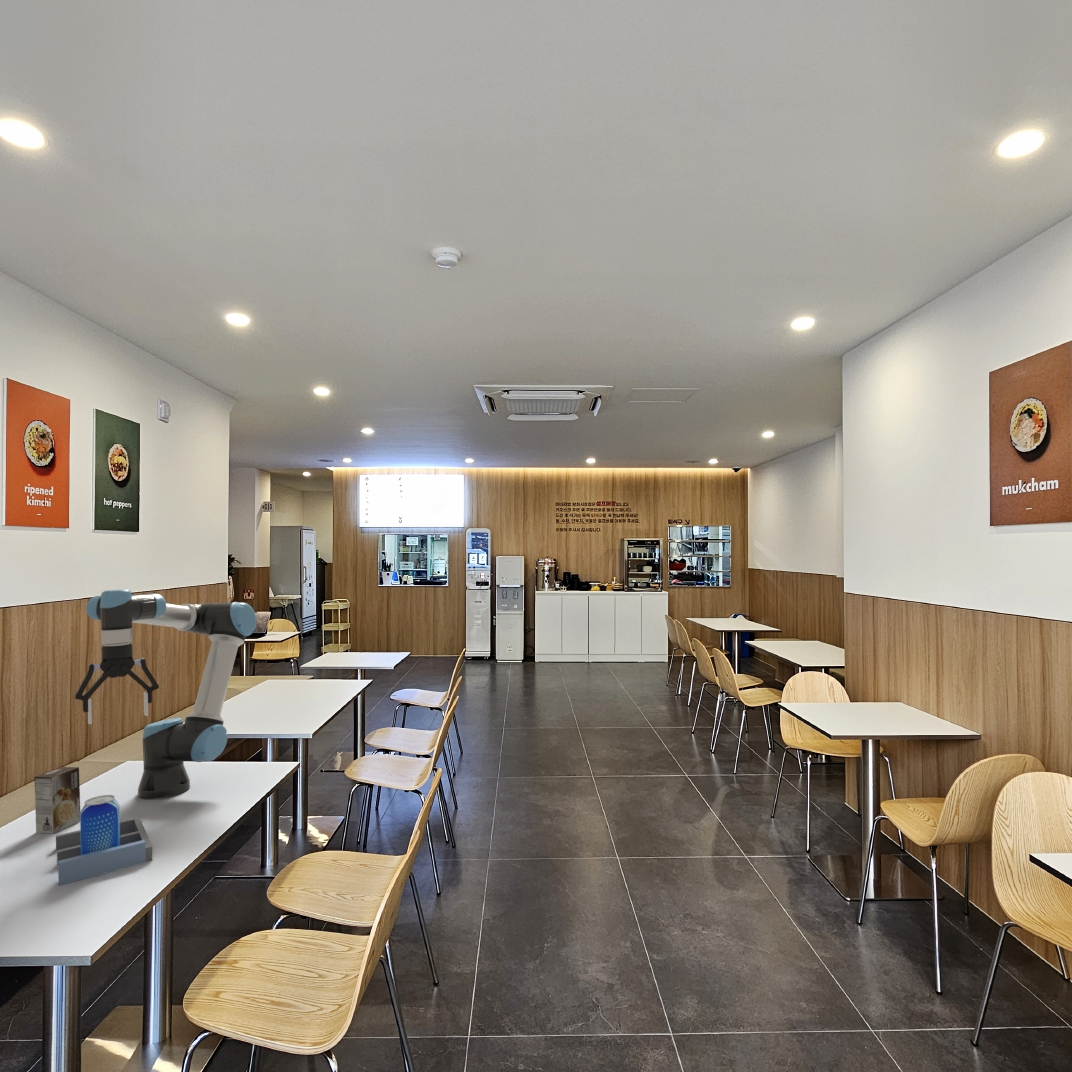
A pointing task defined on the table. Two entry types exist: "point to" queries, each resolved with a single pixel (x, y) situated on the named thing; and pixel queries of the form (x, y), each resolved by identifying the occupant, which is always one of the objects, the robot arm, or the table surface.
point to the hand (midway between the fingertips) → (118, 719)
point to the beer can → (99, 824)
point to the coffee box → (57, 799)
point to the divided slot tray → (102, 853)
